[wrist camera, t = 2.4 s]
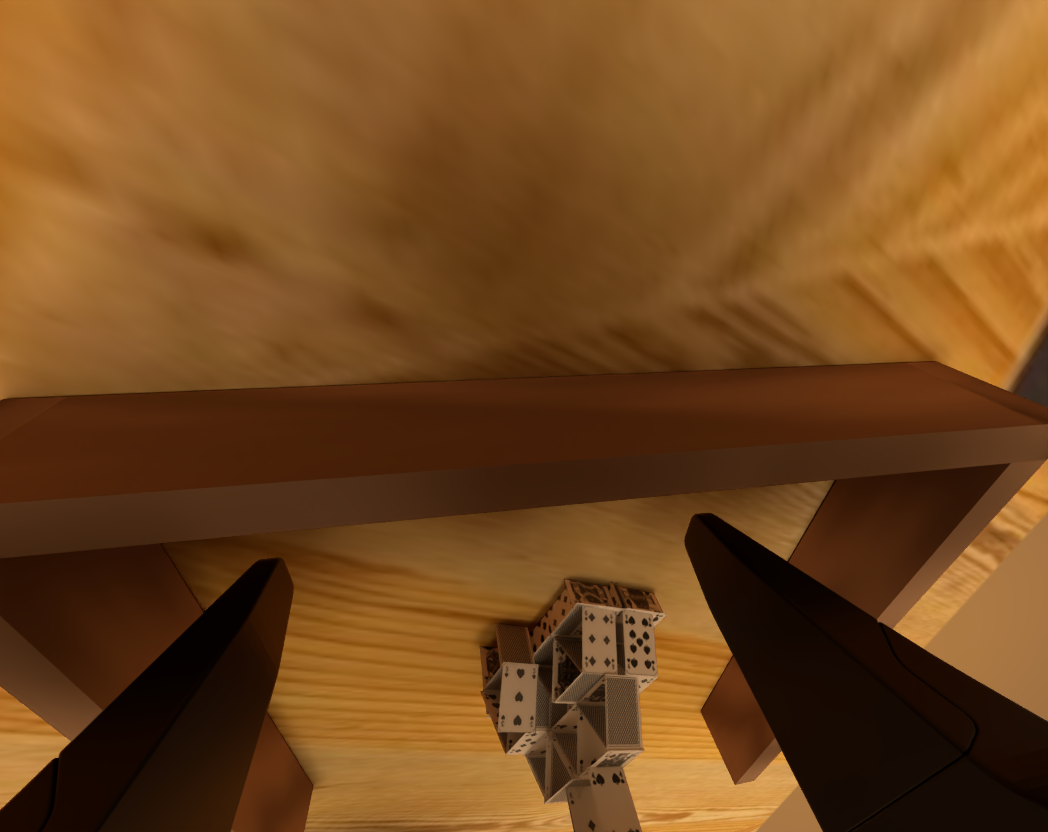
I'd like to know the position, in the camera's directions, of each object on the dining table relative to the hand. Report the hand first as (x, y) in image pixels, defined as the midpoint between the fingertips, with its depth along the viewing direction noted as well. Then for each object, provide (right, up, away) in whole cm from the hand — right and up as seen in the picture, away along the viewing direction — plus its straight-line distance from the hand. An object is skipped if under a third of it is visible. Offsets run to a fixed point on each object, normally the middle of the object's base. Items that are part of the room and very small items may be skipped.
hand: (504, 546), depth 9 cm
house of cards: (0, -4, +6) cm, 7 cm away
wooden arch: (+1, -5, +6) cm, 7 cm away
